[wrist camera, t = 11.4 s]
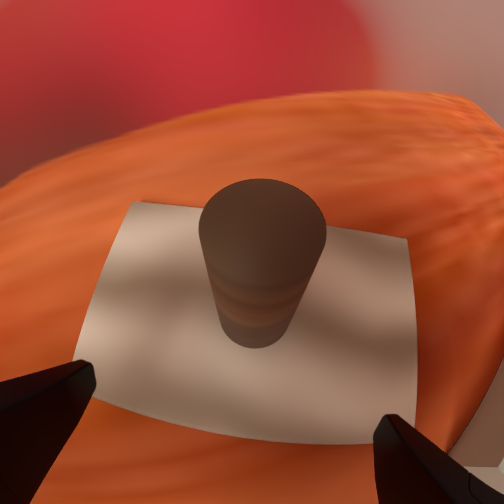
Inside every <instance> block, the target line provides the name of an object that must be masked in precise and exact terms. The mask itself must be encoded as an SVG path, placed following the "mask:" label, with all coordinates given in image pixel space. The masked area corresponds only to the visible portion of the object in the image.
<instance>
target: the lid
mask: <svg viewBox="0 0 504 504" xmlns="http://www.w3.org/2000/svg"><path fill="white" fill-rule="evenodd" d="M79 359H83V360H86V361H88V362H91V363H92V364H93V366H94V371H95V377H96V382H97V385H96V389H95V391H94V393H93V395H92V397H94V398H97V399H99V400H102V401H105V402H107V403H110V404H112V405H115V406H118V407H121V408H124V409H127V410H129V411H132V412H136V413H139V414H142V415H145V416H148V417H152V418H155V419H158V420H162V421H166V422H169V423H173V424H177V425H181V426H185V427H189V428H194V429H198V430H203V431H208V432H213V433H218V434H223V435H229V436H235V437H242V438H249V439H256V440H265V441H274V442H285V443H300V444H327V445H346V444H373V434H374V431H375V429H376V427H377V426H378V424H379V422H380V420H381V418H382V417H383V416H384V415H385V414H398V415H399V416H400V417H401V418H403V419H404V420H405V421H406V422H408V423H409V424H410V425H411V426H412V427H415V416H416V401H417V370H418V357H417V325H416V310H415V298H414V287H413V278H412V270H411V263H410V256H409V249H408V243H407V239H404V238H398V237H393V236H387V235H382V234H376V233H370V232H365V231H359V230H353V229H347V228H340V227H334V226H328V225H326V223H325V219H324V217H323V214H322V212H321V211H320V209H319V207H318V206H317V205H316V203H315V202H314V201H313V200H312V199H311V198H310V197H309V196H308V195H307V194H305V193H304V192H303V191H301V190H300V189H298V188H296V187H294V186H292V185H290V184H287V183H284V182H281V181H277V180H271V179H249V180H244V181H240V182H236V183H234V184H231V185H229V186H227V187H225V188H223V189H222V190H220V191H219V192H217V193H216V194H215V195H214V196H213V197H212V198H211V199H210V200H209V201H208V203H207V204H206V205H205V207H204V209H203V208H194V207H185V206H176V205H166V204H156V203H146V202H135V201H133V202H132V204H131V206H130V208H129V210H128V212H127V214H126V216H125V218H124V221H123V223H122V225H121V227H120V229H119V231H118V234H117V236H116V238H115V241H114V243H113V245H112V248H111V250H110V252H109V255H108V257H107V260H106V262H105V264H104V267H103V270H102V272H101V275H100V277H99V280H98V283H97V285H96V288H95V291H94V293H93V296H92V299H91V302H90V305H89V308H88V311H87V314H86V317H85V320H84V323H83V326H82V329H81V333H80V336H79V339H78V343H77V346H76V350H75V353H74V357H73V361H76V360H79ZM73 361H72V362H73Z"/></svg>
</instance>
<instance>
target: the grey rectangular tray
mask: <svg viewBox="0 0 504 504" xmlns="http://www.w3.org/2000/svg"><path fill="white" fill-rule="evenodd" d="M448 455H449V456H450V457H451V458H453V459H454V460H455V461H456V462H458V463H459V464H460V465H462V466H463V467H464V468H465V469H467V470H468V471H469V472H471V473H472V474H473V475H475V476H476V477H477V478H479V479H480V480H482V481H483V482H484V483H486V484H487V485H489V486H490V487H492V488H494V489H495V490H497V491H499V492H500V493H502V494H504V358H503V360H502V362H501V364H500V367H499V369H498V371H497V373H496V375H495V377H494V379H493V381H492V383H491V385H490V387H489V389H488V391H487V393H486V395H485V397H484V399H483V400H482V402H481V404H480V406H479V408H478V409H477V411H476V413H475V414H474V416H473V418H472V419H471V421H470V423H469V424H468V426H467V427H466V429H465V430H464V432H463V434H462V435H461V437H460V438H459V439H458V441H457V442H456V444H455V445H454V447H453V448H452V449H451V451H450V452H449V454H448Z"/></svg>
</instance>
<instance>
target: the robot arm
mask: <svg viewBox="0 0 504 504" xmlns="http://www.w3.org/2000/svg"><path fill="white" fill-rule="evenodd" d="M96 385H97V382H96V377H95V371H94V366H93V364H92V363H91V362H88V361H86V360H83V359H79V360H76V361H73V362H69V363H66V364H63V365H59V366H56V367H53V368H49V369H46V370H42V371H39V372H35V373H32V374H28V375H25V376H21V377H17V378H13V379H10V380H6V381H2V382H0V504H30V502H31V500H32V499H33V497H34V495H35V493H36V492H37V490H38V488H39V486H40V485H41V483H42V481H43V480H44V478H45V476H46V475H47V473H48V471H49V470H50V468H51V466H52V465H53V463H54V461H55V460H56V458H57V456H58V455H59V453H60V452H61V450H62V448H63V447H64V445H65V444H66V442H67V440H68V439H69V437H70V436H71V434H72V433H73V431H74V429H75V428H76V426H77V425H78V423H79V421H80V419H81V417H82V415H83V413H84V411H85V409H86V407H87V405H88V403H89V401H90V399H91V397H92V395H93V393H94V391H95V389H96ZM373 449H374V469H375V481H376V488H377V495H378V502H379V504H504V494H502V493H500V492H499V491H497V490H495V489H494V488H492V487H490V486H489V485H487V484H486V483H484V482H483V481H482V480H480V479H479V478H477V477H476V476H475V475H473V474H472V473H471V472H469V471H468V470H467V469H465V468H464V467H463V466H462V465H460V464H459V463H458V462H456V461H455V460H454V459H453V458H451V457H450V456H449V455H447V454H446V453H445V452H444V451H442V450H441V449H440V448H439V447H437V446H436V445H435V444H434V443H432V442H431V441H430V440H429V439H427V438H426V437H425V436H424V435H422V434H421V433H420V432H419V431H417V430H416V429H415V428H414V427H412V426H411V425H410V424H409V423H408V422H406V421H405V420H404V419H403V418H401V417H400V416H399V415H398V414H385V415H384V416H383V417H382V418H381V420H380V422H379V424H378V426H377V427H376V429H375V431H374V434H373Z"/></svg>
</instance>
